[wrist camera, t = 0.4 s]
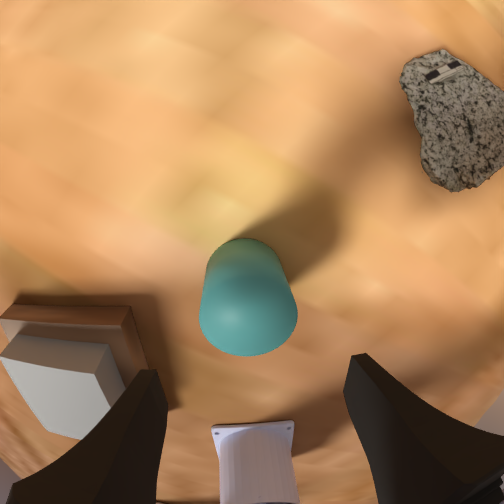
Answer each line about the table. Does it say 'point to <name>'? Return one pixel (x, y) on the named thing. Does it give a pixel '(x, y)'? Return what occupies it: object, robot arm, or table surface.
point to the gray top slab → (64, 381)
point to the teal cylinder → (246, 299)
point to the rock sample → (455, 120)
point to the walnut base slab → (82, 330)
